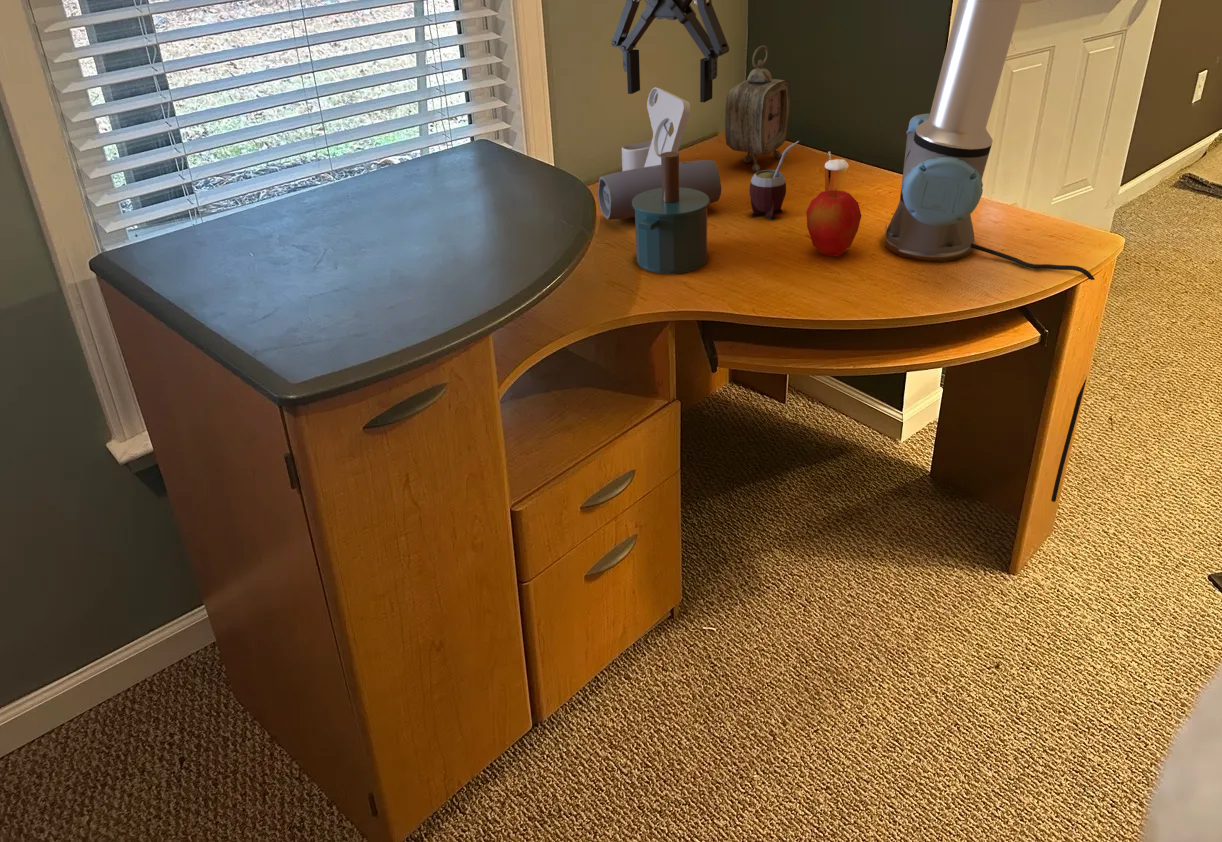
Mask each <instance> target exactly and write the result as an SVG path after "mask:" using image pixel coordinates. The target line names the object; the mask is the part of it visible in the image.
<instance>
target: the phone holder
mask: <svg viewBox="0 0 1222 842" xmlns="http://www.w3.org/2000/svg"><path fill="white" fill-rule="evenodd" d="M646 108H647V112H648V116H649V120H650V126H651V130H652V138H651V140H648V141H647V140H646V141H642V142H641V141H640V142H636V143H629V144H625V145H623V146H622V147H621V169H622V170H621V172H622V171H627V170H632V169H637V168H643V167H649V166H656V165H661V154H662V153H665V152H677V153H678V154H679V150H680V146H681V143H682V140H683V137H684V133H685V130H686V126H687V123H688V120H689V116H690V113H691V104H690V101H688V100H685V99H684V98H681V97H680V96H677V95H675V94H673V93H672V92H669V91H667V90H665V89H663V88H660V87H652V88H651V90H650V92H649V94H648V97H647V101H646ZM672 125H673V132H672V133H671V135H670V130H671V129H670V128H671V126H672Z"/></svg>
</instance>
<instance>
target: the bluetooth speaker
mask: <svg viewBox="0 0 1222 842" xmlns="http://www.w3.org/2000/svg"><path fill="white" fill-rule="evenodd" d="M679 187H682V188H690V189H695V190H698V191H701V192H703V193H705V194H706V195H707V196H708V197H709V205H711V204H714V203H717V202H718V201H720V198H721V195H722V183H721V176H720V171H719V167H718V165H717V163H716V162H715V160H713V159H699V160H690V161H679ZM656 188H662V176H661V165H656V166H649V167H643V168H637V169H632V170H627V171H622V170H621V171H617V172H613V173H608V174H605V175H602V176H599V180H598V188H597V197H598V203H599V207H600V208H599V209H600V212H601V214H602V215H603V216H604V218H605V219H606V220H621V219H633V218H634V219H635V209H634V208H633V206H632V200H633V198H634V197H635V196H636V195H638V194H640V193H642V192H644V191H647V190H651V189H656Z"/></svg>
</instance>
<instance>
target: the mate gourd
mask: <svg viewBox="0 0 1222 842" xmlns="http://www.w3.org/2000/svg"><path fill="white" fill-rule="evenodd" d="M799 143H800V140H797V141H795V142H793V143H792V144H790V145H788V147H786V148H785V149H784V150H783V152H782V153H781V156H780V160H779V162H778V165H777V166H776V169H763V170H759V171H758V172H755V173H754V174H753V176H752V177H751V180H750V182H749V198H750V206H751V210H752V212H751V217H752V218H753V217H754V218H755V217H760V216H761V217H763V216H766V217H767V218H768V219H770V220H775V218H776V217H775V215H776V214H782V213H783V209H782V206H783V203H784V200H785V197H786V194H787V182H786V178H785V176H784V174H783V173H782V172H781V171H780V169H781V167H782V165H783V162H784V161H785V158H786V157H787V155H788V153H789V151H790V150H791V149H792V148H794V147H795V146H796V145H797V144H799ZM774 214H775V215H774Z"/></svg>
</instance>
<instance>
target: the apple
mask: <svg viewBox="0 0 1222 842" xmlns="http://www.w3.org/2000/svg"><path fill="white" fill-rule="evenodd" d="M805 214H806V228H807V231H808V234H809V237H810V240H811V243H812V246H813V247H814V248H815V249H816V250H817V251H818V252H819V253H820V254H822V255H824V256H827V257H838V256H841V255H842V254H844V253H845V252H846V251H847V250H848V249H849V248H851V246H852V244H853V242H854V240H855V237H856V235H857V233H858V232H859V228H860V224H861V220H862V212H861V208H860V205H859V202H858V200H856V198H855V197H854V196H853V195H852V194H851V193H849V192H847V191H845V190H844V191H836V189H835V190H829V191H825V190H823V191H821V192H819V193H818V194H817V195H816V196H815V197H814V198H813V199H812V200H811V201H810V202H809V205H808V207H807V210H806V213H805Z"/></svg>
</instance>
